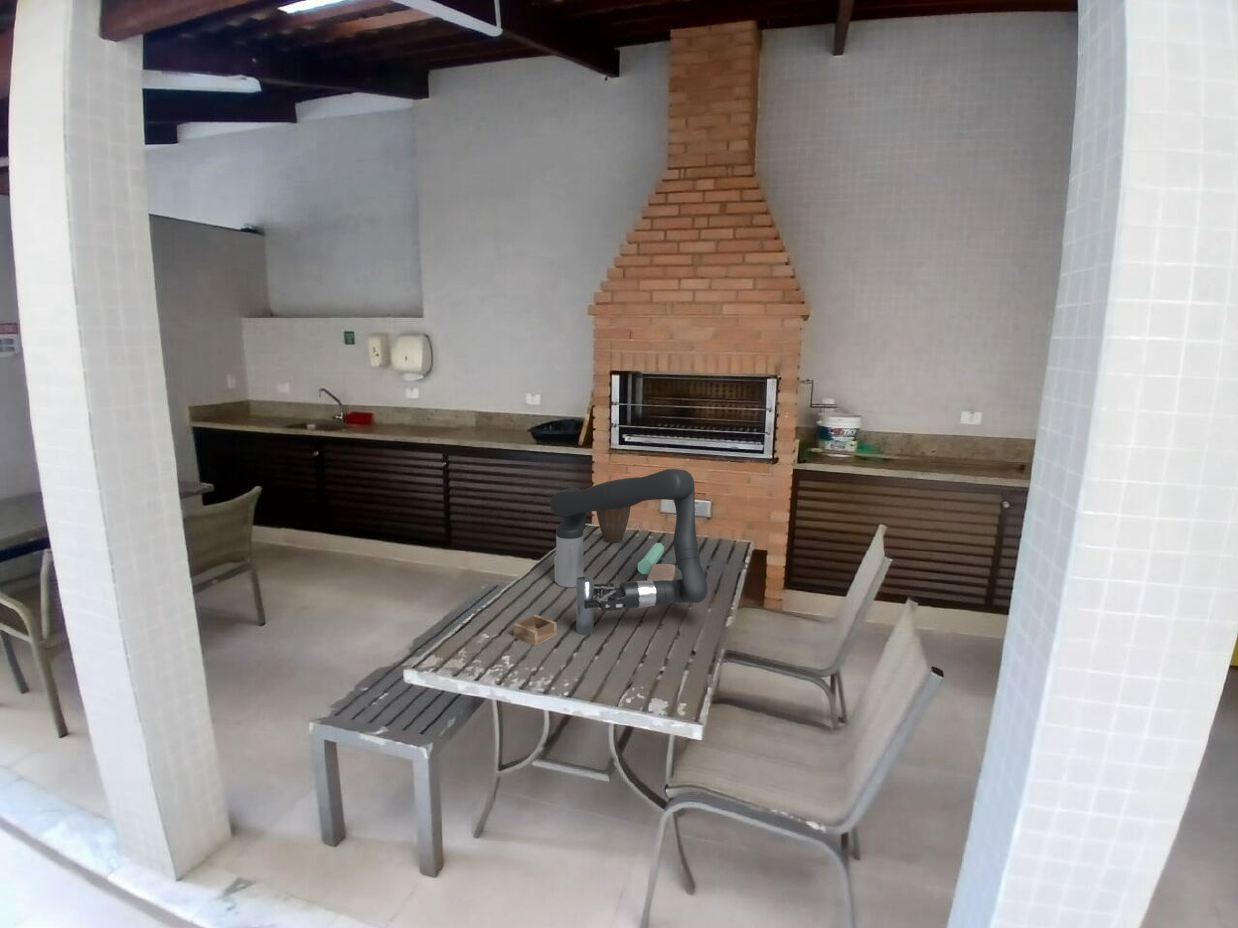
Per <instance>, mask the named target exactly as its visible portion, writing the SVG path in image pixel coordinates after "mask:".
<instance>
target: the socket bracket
mask: <svg viewBox="0 0 1238 928" xmlns="http://www.w3.org/2000/svg"><path fill="white" fill-rule="evenodd" d="M557 629H558V628H557V622H556V621H553V620H551V619H548V618H546V617H542V616H540V615H538V614H534V615H533V614H532V616H529V617H527V618H525V619H522V620H520V621H518V622H516V623H514V624H513V635H512V637H513V638H516V639H518V640H520V641H523V642H525V643H528V644H529V645H532V646H534V647H535V646H538V645H540V644H541V643H544V642H545V641H547V640H549V639H552V638H553V637H555V636H558V635H559V633H557Z"/></svg>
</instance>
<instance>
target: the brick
mask: <svg viewBox="0 0 1238 928" xmlns="http://www.w3.org/2000/svg"><path fill="white" fill-rule="evenodd" d="M675 575H676V564H670V563H656V564H653V565H652V568H651V571H650V573H649V574H647V577H646V581H659V580H668V581H671V580H675Z"/></svg>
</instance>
